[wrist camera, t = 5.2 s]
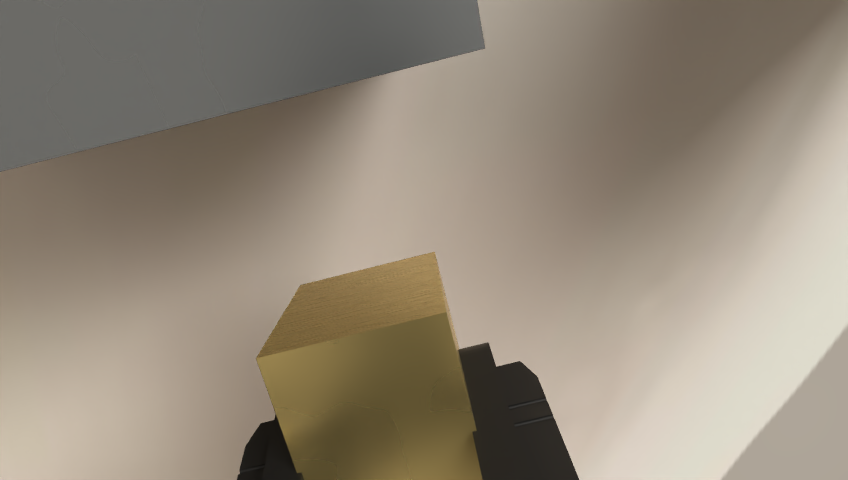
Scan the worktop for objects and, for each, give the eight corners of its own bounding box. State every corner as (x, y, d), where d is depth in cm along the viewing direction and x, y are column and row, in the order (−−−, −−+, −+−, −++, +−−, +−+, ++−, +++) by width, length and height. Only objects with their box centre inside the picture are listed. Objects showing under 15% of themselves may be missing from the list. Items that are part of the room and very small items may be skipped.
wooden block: (434, 251, 11) (446, 311, 8) (493, 483, 13) (524, 616, 9) (300, 285, 12) (255, 359, 8) (373, 510, 13) (361, 653, 10)
